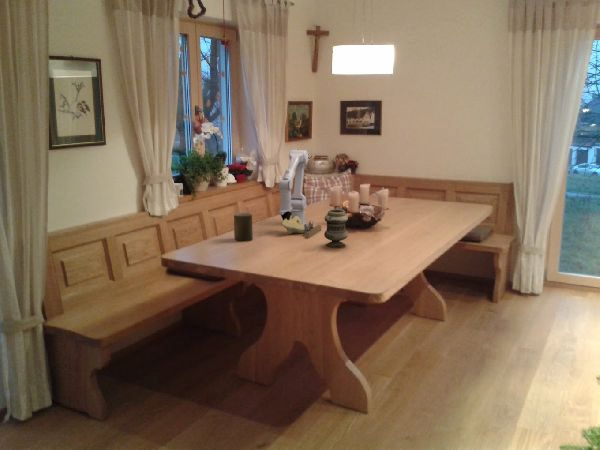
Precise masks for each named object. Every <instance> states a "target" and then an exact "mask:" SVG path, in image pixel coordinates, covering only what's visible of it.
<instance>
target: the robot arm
mask: <svg viewBox="0 0 600 450" xmlns="http://www.w3.org/2000/svg"><path fill="white" fill-rule="evenodd" d="M288 158H289V165H288V168H287V169H285V171H284V174H283V176H282V179H280V180H279V182H278V189H279V193H280V208H279V209H278V210H279V211H278V215H280V217H281V218H282V221H283V220H285V219H287V220H291V219H293V218H294V217H295V216H297V217H299V219H301V222H302V224H301V225H302V226H304V224H308V223H307V222H306V211H305V210H306V209H307V197H306V196H305V195H304V194H303V188H304V177H305V167H306V166H308V162H309V161H308V159H309V154H308V151H307V149H304V150H300V149H290V151H289V153H288ZM293 184H294V185H293ZM293 189H294V190H293ZM292 190H293V193H292Z"/></svg>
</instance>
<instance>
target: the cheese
mask: <svg viewBox="0 0 600 450" xmlns="http://www.w3.org/2000/svg"><path fill="white" fill-rule="evenodd" d="M301 224H302V222H301V219H299V217H297V216H295V217H294V218H293V219H291V218H290V220H287V219H285V220H283V219H282V222H281V226H282V227H283V228H285V229H286V231H287V234H288V235H290V234H293V233H295V234H296V233H298V234H304V226H302V225H301Z"/></svg>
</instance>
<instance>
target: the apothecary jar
mask: <svg viewBox="0 0 600 450" xmlns="http://www.w3.org/2000/svg"><path fill="white" fill-rule="evenodd" d="M348 219H349V217H348V215H347V214H346V211H345V210H344V209H341V208H340V209H338V208H334V209H333V208H332V209H329V210H327V213H326V214H325V216H324V221H325V222H326V230H325V231H324V233H323V235H324V238H325V239H327V240H329V242H327V243H326V244H325V246H326V247H329V248H334V249H335V248H344V247H346V243H344V242H342V241H344V240H346V239H347V238H348V236H349V233H348V231H347V230H346V229H347V228H346V223H347V221H348Z"/></svg>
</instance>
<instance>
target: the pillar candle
mask: <svg viewBox="0 0 600 450" xmlns="http://www.w3.org/2000/svg"><path fill="white" fill-rule="evenodd" d="M233 226H234V227H233V234H234V235H233V236H234V241H236V242H240V243H241V242H250V241H253V239H254V238H253V236H254V235H253V233H254V232H253V214H252V213H250V212H238V213H234V214H233Z"/></svg>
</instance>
